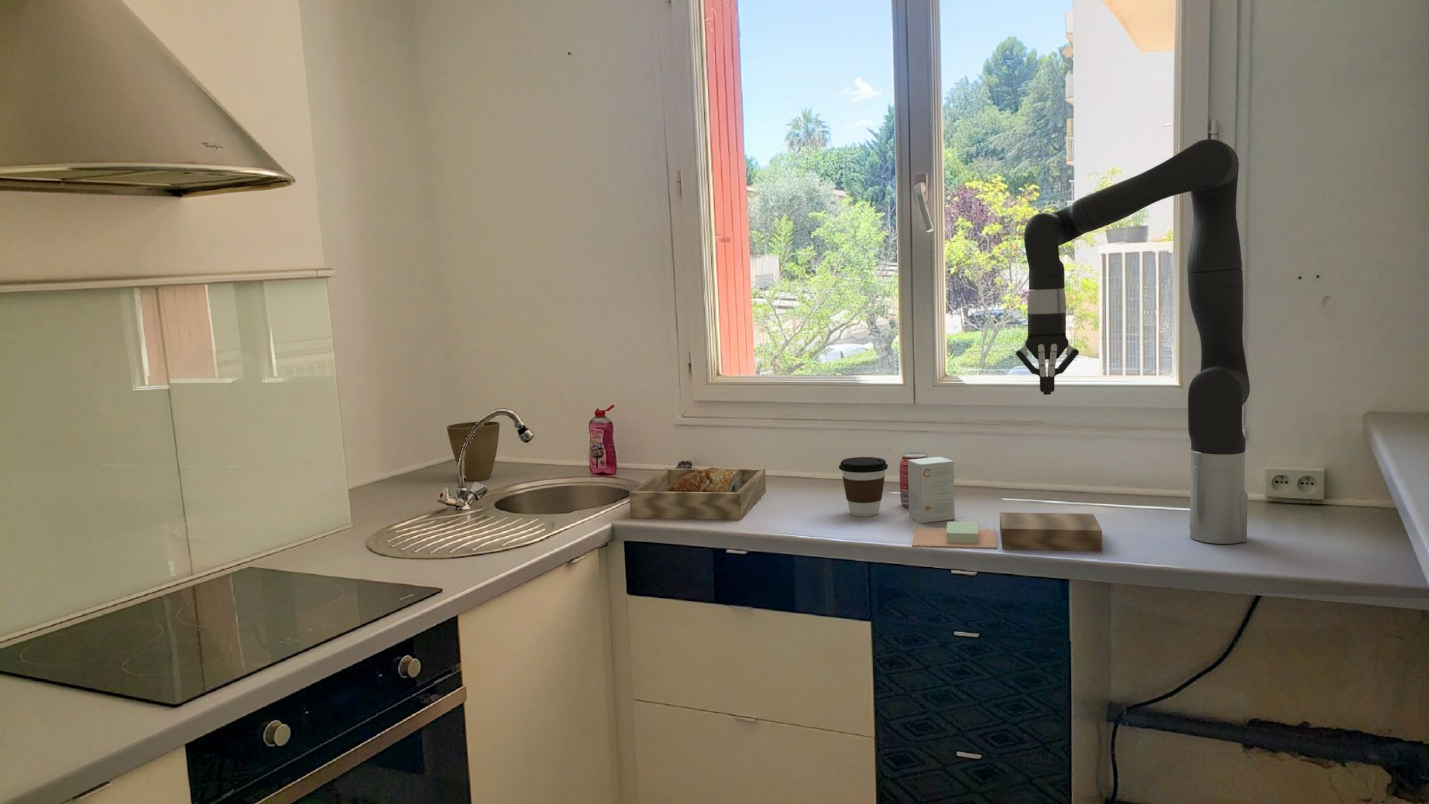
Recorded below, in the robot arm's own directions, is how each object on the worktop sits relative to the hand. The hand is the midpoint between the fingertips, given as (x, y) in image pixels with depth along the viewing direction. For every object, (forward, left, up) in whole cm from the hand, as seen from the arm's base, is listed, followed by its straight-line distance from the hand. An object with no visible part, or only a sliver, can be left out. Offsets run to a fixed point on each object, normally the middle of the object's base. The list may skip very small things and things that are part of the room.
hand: (1046, 394), depth 203 cm
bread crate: (+79, -10, -27) cm, 84 cm away
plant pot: (+154, -38, -27) cm, 161 cm away
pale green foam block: (+17, +16, -25) cm, 34 cm away
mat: (+19, +17, -27) cm, 37 cm away
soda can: (+28, -12, -27) cm, 41 cm away
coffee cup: (+39, -4, -27) cm, 48 cm away
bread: (+78, -8, -28) cm, 83 cm away
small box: (+24, 0, -27) cm, 36 cm away
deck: (+1, +17, -27) cm, 32 cm away
